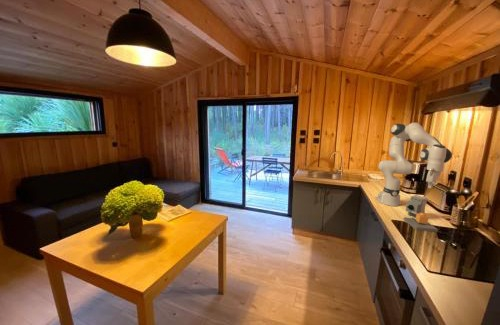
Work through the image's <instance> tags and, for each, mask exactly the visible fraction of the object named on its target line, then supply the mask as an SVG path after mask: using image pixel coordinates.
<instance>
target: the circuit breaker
mask: <svg viewBox="0 0 500 325" xmlns="http://www.w3.org/2000/svg"><path fill="white" fill-rule="evenodd" d="M427 201H428V197H424V196H422V195H418V194H417V195H411V196H410V200H407V201H406V204H405V211H406V212H407V215H409V216H412V217H413V218H416V215H417V213H418V214H420V213H425V212H426V210H425V209H426V206H427V205H426V204H427ZM425 214H426V213H425Z"/></svg>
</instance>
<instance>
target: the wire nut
mask: <svg viewBox="0 0 500 325" xmlns="http://www.w3.org/2000/svg"><path fill="white" fill-rule="evenodd" d="M415 218H416V221H417V222H418V223H424V224H427V223H429V222H428V221H429V216H428V215H427V214H426V213H420V214H418V213H417V215H416V217H415Z"/></svg>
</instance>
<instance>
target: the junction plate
mask: <svg viewBox="0 0 500 325" xmlns="http://www.w3.org/2000/svg"><path fill="white" fill-rule="evenodd" d="M402 219H403V221H404V222H405V223H407V224H408V225H409V224H410V225H409V226H411V227H412V228H413V229H414V230H416V231H421V232H422V231H423V232H435V233H438V231H439V229H438V228H437V227H435V226H434V225H433V224H431V223H430V222H428V223H427V224H424V223H418V222H417V221H416V217H403V218H402Z"/></svg>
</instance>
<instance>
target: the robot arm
mask: <svg viewBox="0 0 500 325" xmlns="http://www.w3.org/2000/svg"><path fill="white" fill-rule="evenodd" d="M390 133H391V134H392V135H393V136H392V137H391V138H390V141H389V144H388V156H389V157H390V158H391V159H393V160H389V159H386V160H385V159H384V160H381V161H379V162H378V166H377V168H378V170H379V171H380V172H381V173H382V174H383V175H384V182H385V183H384V186H383V189H382V191H380V192H378V194H377V196H376V197H375V200H376V201H377V203H379V204H383V205H386V206H390V207H399V206H400V205H402V203H401V195H400V193H401V192H400V187H401V183H402V182H401V180H400V179H399V178H398V177H397V176H395V175H396V174H398V175H410V174H412V173H413V171H414V165H413V164H412V163H411V161H409V160H407V158H406V156H405V142H407V143H408V142H410V141H412V142H413V143H416V144H420V145H426V146H429V147H426V148H425V147H424V148H423V149H421V150H420V151H419V158H420V159H421V160H422V161H425V162H427V165H426V170H428V171H427V175H426V179H425V182H426V183H427V188H428V189H432V187H434V186H436V182H437V180H439V179H440V177H441V173H442V172H443V171H444V167H445V164H446V163H448V162H449V161H451V159H452V158H453V153H452V152H451V151H452V150H450V149H449V148H447V147H446V145H443V144H442V143H441V142H440V141H439V140H438V139H437V138H436V137H434V136H433V135H431V134H430V133H428V132H427V131H426V130H425V129H424V127H423V126H422V125H421V124H419V123H418V122H411V123H409V124H408V125H406V124H402V123H394V124H393V125H392V126H391V128H390ZM394 174H395V175H394Z"/></svg>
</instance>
